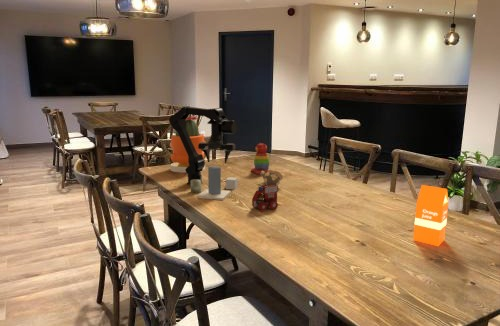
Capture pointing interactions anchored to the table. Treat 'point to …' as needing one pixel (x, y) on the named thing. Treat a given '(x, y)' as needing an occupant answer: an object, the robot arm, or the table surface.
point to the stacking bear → (261, 159)
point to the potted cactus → (178, 148)
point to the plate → (207, 195)
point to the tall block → (214, 180)
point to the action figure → (271, 177)
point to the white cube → (231, 183)
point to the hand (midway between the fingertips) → (217, 162)
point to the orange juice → (431, 215)
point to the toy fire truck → (265, 198)
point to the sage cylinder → (195, 186)
